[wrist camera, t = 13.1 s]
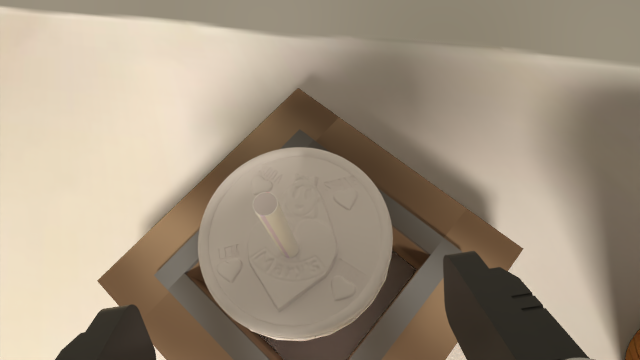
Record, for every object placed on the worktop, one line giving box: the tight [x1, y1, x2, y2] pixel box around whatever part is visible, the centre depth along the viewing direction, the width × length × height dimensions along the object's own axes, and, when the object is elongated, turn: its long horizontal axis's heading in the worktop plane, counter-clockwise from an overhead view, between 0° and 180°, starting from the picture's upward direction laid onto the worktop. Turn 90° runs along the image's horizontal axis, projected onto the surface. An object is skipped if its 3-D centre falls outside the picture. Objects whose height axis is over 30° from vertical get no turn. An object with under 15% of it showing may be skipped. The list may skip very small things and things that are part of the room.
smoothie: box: [198, 147, 393, 341], centre depth 15 cm, size 6×6×14 cm
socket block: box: [98, 88, 523, 360], centre depth 20 cm, size 14×14×4 cm
